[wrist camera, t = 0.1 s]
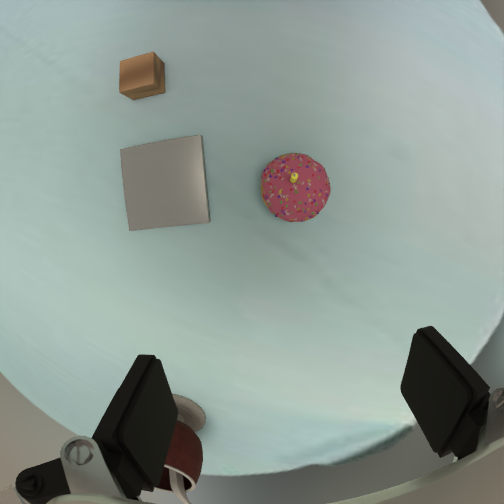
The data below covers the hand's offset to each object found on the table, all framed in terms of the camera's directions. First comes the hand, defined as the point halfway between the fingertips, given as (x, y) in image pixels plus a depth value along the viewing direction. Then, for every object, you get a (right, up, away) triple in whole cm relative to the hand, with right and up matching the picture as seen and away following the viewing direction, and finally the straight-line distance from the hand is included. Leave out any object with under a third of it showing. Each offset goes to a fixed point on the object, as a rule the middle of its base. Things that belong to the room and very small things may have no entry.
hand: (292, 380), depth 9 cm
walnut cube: (-17, +29, +24) cm, 42 cm away
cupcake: (+4, +14, +29) cm, 32 cm away
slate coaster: (-14, +14, +28) cm, 35 cm away
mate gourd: (-17, -29, +41) cm, 53 cm away
